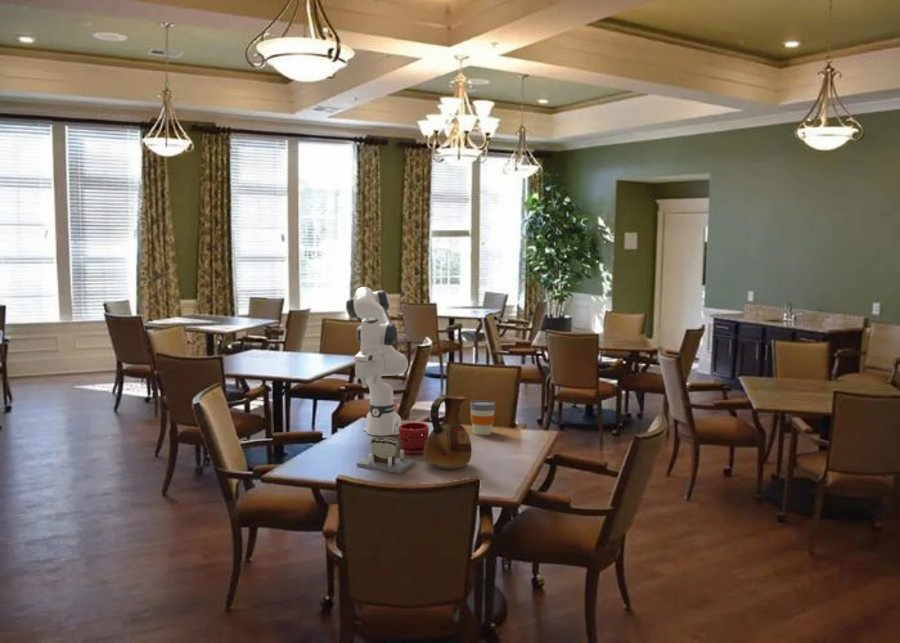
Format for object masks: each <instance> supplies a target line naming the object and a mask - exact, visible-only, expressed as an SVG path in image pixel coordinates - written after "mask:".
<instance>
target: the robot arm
mask: <svg viewBox="0 0 900 643" xmlns="http://www.w3.org/2000/svg"><path fill="white" fill-rule="evenodd" d="M345 302H346V303H345V304H346V305H345V310H346V313H347V314H348V316H349V317H350V318H351V319H359V318H360V319H361V323H360V324H359V325H358V326H357V328H356V341H357V343H359V344H360V348H359V349H360V350H359V351H358V352H357V353H356V354H355V355H354V361H355V364H354V371H355V372H354V374H355V378H356V379H360V382H361V384H362V385H361V386H362V388H364V389H366V388H368V389H369V404H368V413H367V415H366V420H365V421H366V422H365V424H366V425H365V427H363V431H364V432H365V433H366V434H368V435H371V436H377V437H386V436H397V435H398V436H399V426H400V425H402V418H401V416H400V415H399V414H398V413H397V412H396V411H395V410H396V409H395V408H397V405H398V404H397V403H396V402H394V389H393V386H392V385H390V384H389V383H387V382H384V381H383V380H382V377H387V376H399V375H403V374H406V372H407V369H408V368H409V362H408V358H407V356H406V355H405V354H404V353H402V352H400V351H398V350H397V349H395V347H394V346H393V345H394V344H395V343H396V342H397V340H398V337H399V336H398V335H399V333H398V328H397V327H396V325H395V324H394V323H393V321H392V318H391V317H390V314H389V312H388V310H389V308H390V303H391V300H390V296H389V294H388V293H387V291H386V290H382V289H381V290H379V289H378V290H377V291H373V289H371V288H370V287H368V286H361V287H359V288H357V289H356V291H355V293H354V295H353V297H350V298H348V300H347V301H345Z"/></svg>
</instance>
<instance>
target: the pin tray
mask: <svg viewBox="0 0 900 643" xmlns="http://www.w3.org/2000/svg"><path fill="white" fill-rule="evenodd" d="M415 465H416V460H412V459H405V452H404V450H402V449H400V450H399V458H398V457H396V461H395V465H392V457H388V464H381V463H374V462H373V453H368V457H366V458H364V459H363V460H360V461H358V462H356V467H357V468H358V467H359V468H363V469H370V470H377V471H383V472H392V473H397V474H398V473H399V474H401V473H403V472H405V471H407V470H408V469H410V468H411V467H413V466H415Z"/></svg>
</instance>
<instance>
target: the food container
mask: <svg viewBox="0 0 900 643" xmlns="http://www.w3.org/2000/svg"><path fill="white" fill-rule="evenodd" d="M370 444H371V449H372V450H371V451H372V454H373V462H374V463H381V464H388V457H392V465H395V461H396V458H397V451H398V447H399V446H400V442H399V440H398V439H397V438H395V437H390V436H376V437H373V438H371V440H370Z"/></svg>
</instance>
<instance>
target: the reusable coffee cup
mask: <svg viewBox="0 0 900 643" xmlns="http://www.w3.org/2000/svg"><path fill="white" fill-rule="evenodd" d="M469 405H470V407H469V409H470V414H469V415H470V423H471V425H472V433H473V434H474V435H480V436H486V435H487V436H488V435H491V434H492V429H493V424H494V421H495V415H496V414H495V410H496V402H495V401H491V400H482V399H481V400H480V399H479V400H471V401H470V404H469Z"/></svg>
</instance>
